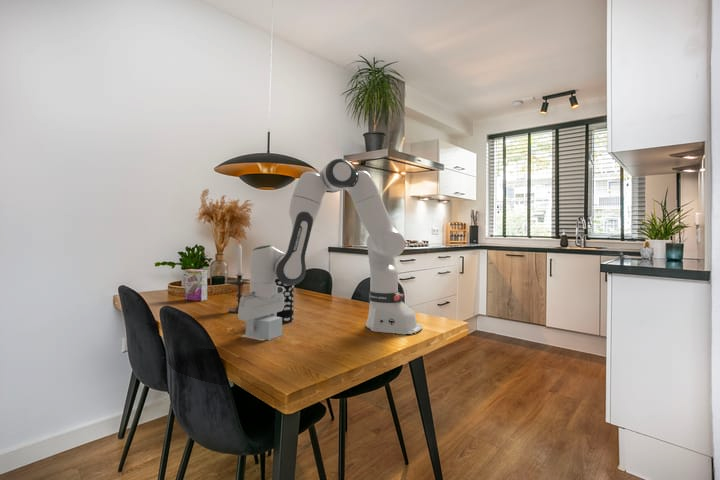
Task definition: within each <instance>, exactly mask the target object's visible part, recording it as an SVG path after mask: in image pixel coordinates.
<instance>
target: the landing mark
mask: <svg viewBox="0 0 720 480" xmlns="http://www.w3.org/2000/svg"><path fill="white" fill-rule="evenodd" d="M241 337H242V338H247V339H253V340H257V341H262V342H263V341H265V340H266V339H263V338H258V337H253V336H248V335H246V334H244V335H241Z"/></svg>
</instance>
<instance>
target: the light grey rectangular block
mask: <svg viewBox="0 0 720 480" xmlns="http://www.w3.org/2000/svg"><path fill="white" fill-rule="evenodd" d="M253 324H254V326H256V331H253V332H251V331H250V330H249V325H248V323H247V321H245V335H248V336H253V337H258V338H263V339H266V340H267V341H271V340H273V339H275V338H278V337H281V336H283V323H282V317H276V316H271V315H266V316H263V317H259V318H255V319H254V322H253Z"/></svg>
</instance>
